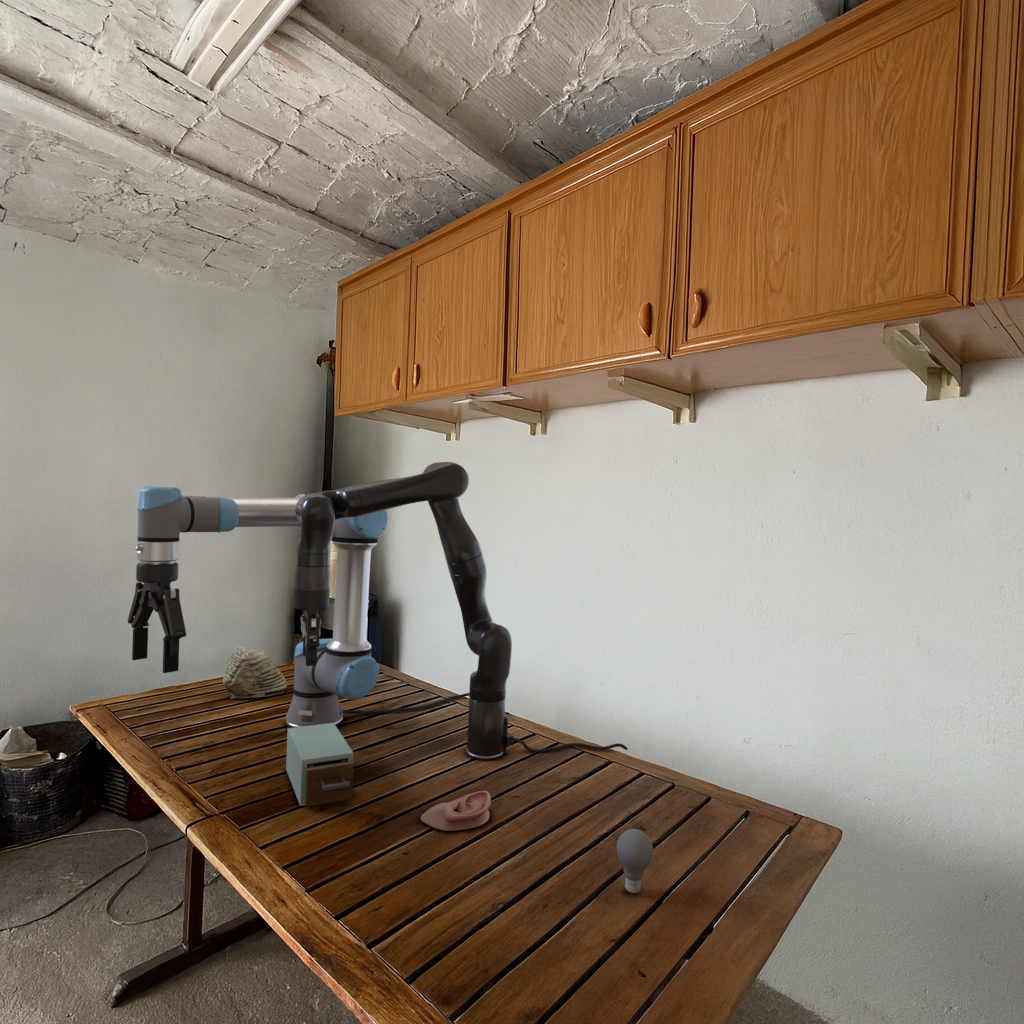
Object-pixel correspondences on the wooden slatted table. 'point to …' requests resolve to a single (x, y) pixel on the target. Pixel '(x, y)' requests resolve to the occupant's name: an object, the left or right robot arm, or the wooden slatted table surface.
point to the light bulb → (634, 857)
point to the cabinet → (312, 752)
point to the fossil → (252, 674)
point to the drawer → (328, 782)
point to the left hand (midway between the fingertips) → (154, 665)
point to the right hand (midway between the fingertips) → (309, 660)
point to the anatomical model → (459, 812)
